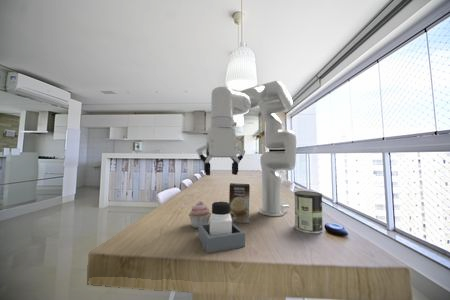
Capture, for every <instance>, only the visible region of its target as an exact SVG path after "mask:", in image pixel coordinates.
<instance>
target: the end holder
mask: <svg viewBox="0 0 450 300" xmlns="http://www.w3.org/2000/svg"><path fill="white" fill-rule="evenodd" d="M197 229H198V231H197V232H198V233H197V234H198V235H197V236H198V239H199V240H200V242H201V244H202V246H203V248H204V249H205V251H206V253H207V254H211V253H216V252H222V251H227V250H234V249H239V248H245V247H246V232H244V231H243V230H242V229H241V228H239V227H238V226H237V225H236V224H235V223H234V222H232V234H225V235H218V236H211V237H210V222H208V224H200V225H199V227H198V228H197Z"/></svg>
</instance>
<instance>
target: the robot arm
mask: <svg viewBox="0 0 450 300" xmlns="http://www.w3.org/2000/svg"><path fill="white" fill-rule="evenodd" d="M210 103H211V105H210V107H211V108H210V109H211V111H210V113H211V115H210V119H211V120H210V127H208V130H207V134H206V135H207V136H206V142H205V143H206V144H205V145H203V146H201V147H199V148H196V153H197V155H198V158H199V159H200V160H201V161H202V162H203V168H204V169H203V173H205V176H211V163H210V161H211V160H212V159H213V158H230V159H231V161H232V163H231V174H232V175H233V176H234V175H236V176H237V175H238V172H239V163H240V162H241V161H242V159H243V158H244V156H245V153H246V150H244V149H243V148H241V147H240V146H238V139H237V133H236V129H235V128H234V127H237V122H235V120H234V116H236V115H242V114H245V113H248V112H249V111H250V109H254V108H257V107H258V109H259V112H260V114H261V116H262V118H263V120H264V123H265V130H264V131H265V133H264V146H265V148H266V149H268V150H274V151H265V152H263V153H262V154H261V155H260V160H259V161H260V167H261V178H262V179H261V188H262V189H261V208H259V210H258V213H259V214H261V215H264V216H268V217H282V216H284V215H285V210H284V209H289V208H290V207H289V204H283V203H282V177H281V175H280V174H279V171H292V170H294V168H295V166H296V163H297V162H296V160H297V159H296V158H297V136H296V133H295V132H294V131H293V130H289V129H288V130H287V129H286V130H283V123H282V121H281V119H280V118H279V117H278V116H277V115H276V114H281V113H287V112H289V111H291V110H292V108H293V99H292V97H291V94H290V93H289V92H288V89H286V86H285V85H284V84H283V83H282V82H281V81H278V80H274V81H271V82H266V83H262V84H259V85H255V86H252V87H249V88H245V89H242V90H240V91H236V90H235V91H234V90H232V88H231V87H228V86H217V87H215V88H213V90H212V91H211V101H210ZM275 150H279V151H275ZM280 150H281V151H280ZM282 150H284V151H282ZM204 151H205V155H204V154H203V152H204ZM238 152H239V154H238ZM237 155H238V156H237Z"/></svg>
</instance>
